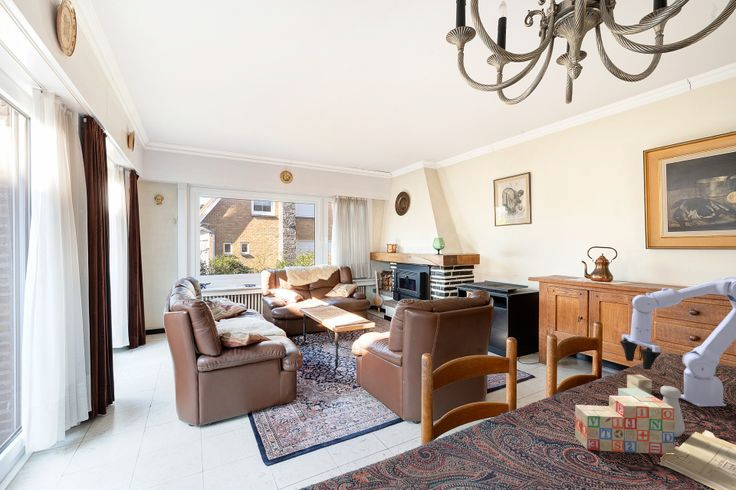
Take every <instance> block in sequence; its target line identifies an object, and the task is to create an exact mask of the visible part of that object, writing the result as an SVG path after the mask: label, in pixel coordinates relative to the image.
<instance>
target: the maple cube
mask: <svg viewBox="0 0 736 490" xmlns="http://www.w3.org/2000/svg"><path fill="white" fill-rule="evenodd" d="M626 388H639V389H640V390H642V391H644V392H646V393H648V394H650V395H652V393H653V380H652V379H650V378H648V377H646V376H644V375H642V374H627V375H626Z"/></svg>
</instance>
